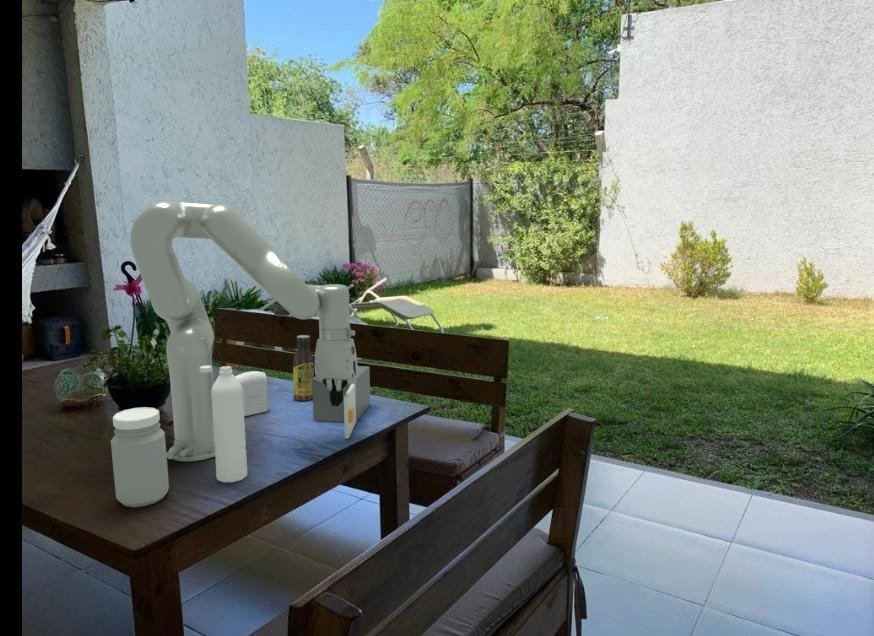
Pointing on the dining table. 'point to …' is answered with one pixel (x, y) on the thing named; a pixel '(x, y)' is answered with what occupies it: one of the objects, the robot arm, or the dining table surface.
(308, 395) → the sauce bottle
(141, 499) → the jar
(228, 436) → the water bottle
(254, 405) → the photo printer
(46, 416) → the dining table surface
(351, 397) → the side door
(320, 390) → the gray box
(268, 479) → the dining table surface
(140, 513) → the dining table surface
